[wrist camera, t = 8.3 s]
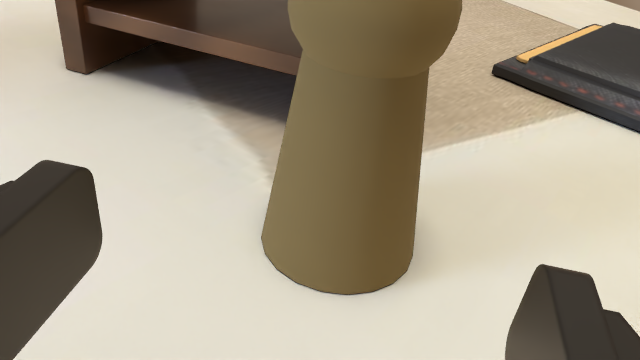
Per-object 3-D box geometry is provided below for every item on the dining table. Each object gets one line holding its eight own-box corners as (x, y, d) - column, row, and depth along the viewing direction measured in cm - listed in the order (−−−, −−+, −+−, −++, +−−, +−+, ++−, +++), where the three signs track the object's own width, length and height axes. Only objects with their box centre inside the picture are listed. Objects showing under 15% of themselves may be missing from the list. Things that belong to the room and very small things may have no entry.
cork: (371, 321, 18) (448, -20, 12) (229, 247, 20) (232, -68, 14) (434, 230, 22) (513, -49, 16) (312, 179, 25) (342, -83, 19)
